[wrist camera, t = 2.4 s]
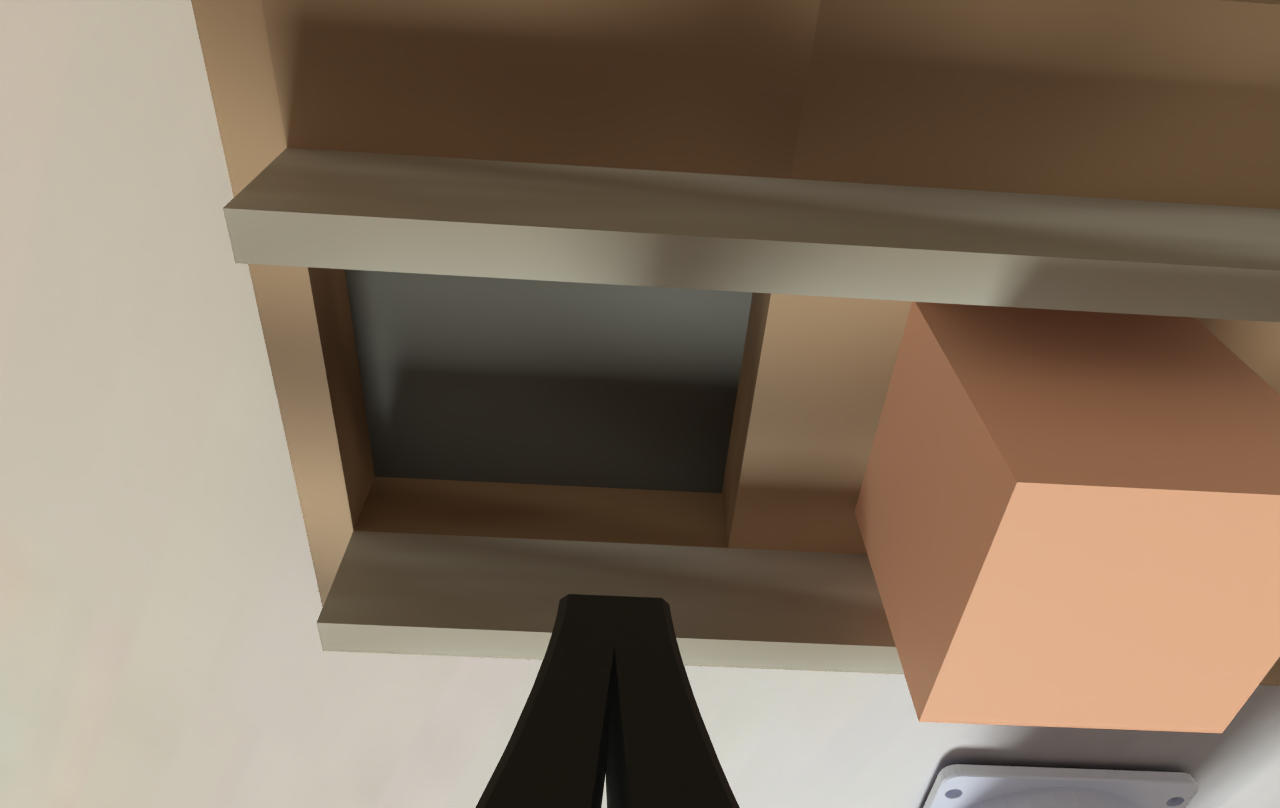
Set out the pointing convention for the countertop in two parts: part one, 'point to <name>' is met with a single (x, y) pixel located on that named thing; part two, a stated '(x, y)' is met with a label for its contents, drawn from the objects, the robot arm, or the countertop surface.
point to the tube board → (694, 275)
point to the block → (1075, 519)
